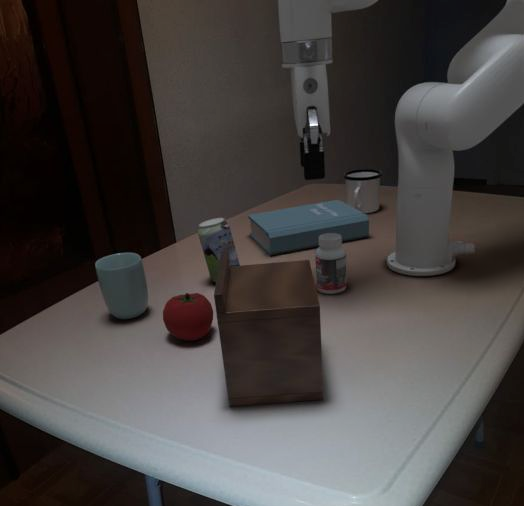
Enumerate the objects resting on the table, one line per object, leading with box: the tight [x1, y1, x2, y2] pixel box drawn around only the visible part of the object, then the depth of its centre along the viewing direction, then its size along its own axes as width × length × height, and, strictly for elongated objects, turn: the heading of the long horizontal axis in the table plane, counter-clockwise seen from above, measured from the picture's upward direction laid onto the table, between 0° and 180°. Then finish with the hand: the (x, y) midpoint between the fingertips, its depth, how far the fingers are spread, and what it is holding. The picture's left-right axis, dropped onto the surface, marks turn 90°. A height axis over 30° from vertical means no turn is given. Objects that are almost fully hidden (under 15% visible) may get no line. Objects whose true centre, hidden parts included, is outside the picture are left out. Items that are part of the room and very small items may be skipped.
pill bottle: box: [314, 233, 347, 295], centre depth 98 cm, size 5×5×10 cm
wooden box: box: [213, 250, 324, 407], centre depth 73 cm, size 12×15×16 cm
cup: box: [94, 252, 149, 320], centre depth 96 cm, size 8×8×10 cm
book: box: [247, 199, 370, 256], centre depth 125 cm, size 23×16×5 cm
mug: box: [342, 168, 383, 215], centre depth 139 cm, size 12×10×9 cm
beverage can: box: [197, 217, 241, 283], centre depth 105 cm, size 6×7×12 cm
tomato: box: [162, 292, 214, 341], centre depth 87 cm, size 8×8×7 cm
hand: (312, 172), depth 91 cm, fingers open, 9 cm apart
